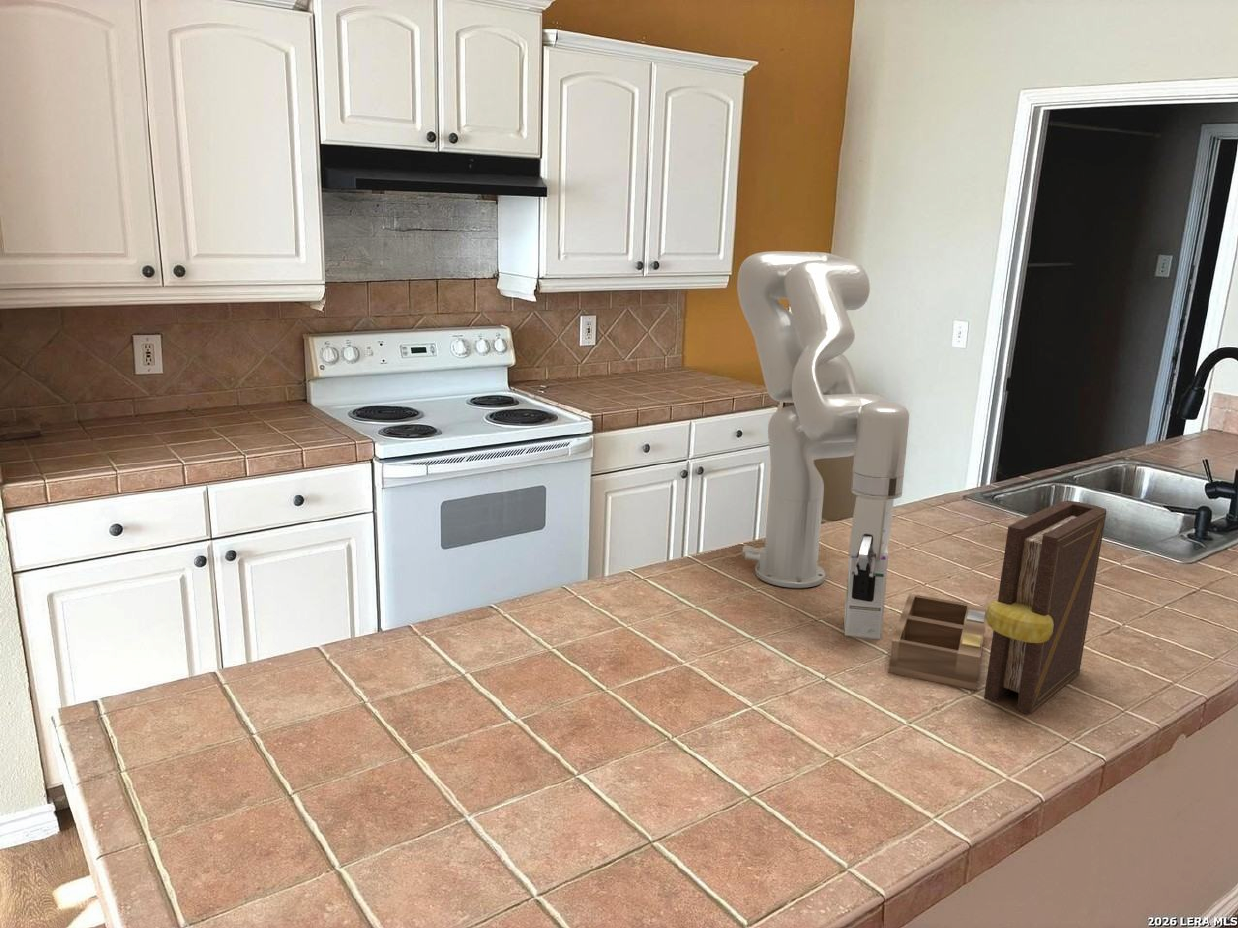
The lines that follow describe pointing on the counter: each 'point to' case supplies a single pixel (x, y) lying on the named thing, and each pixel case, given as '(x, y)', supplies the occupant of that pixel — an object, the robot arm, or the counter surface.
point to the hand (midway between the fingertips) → (867, 589)
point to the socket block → (939, 641)
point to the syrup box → (866, 603)
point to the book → (1043, 603)
